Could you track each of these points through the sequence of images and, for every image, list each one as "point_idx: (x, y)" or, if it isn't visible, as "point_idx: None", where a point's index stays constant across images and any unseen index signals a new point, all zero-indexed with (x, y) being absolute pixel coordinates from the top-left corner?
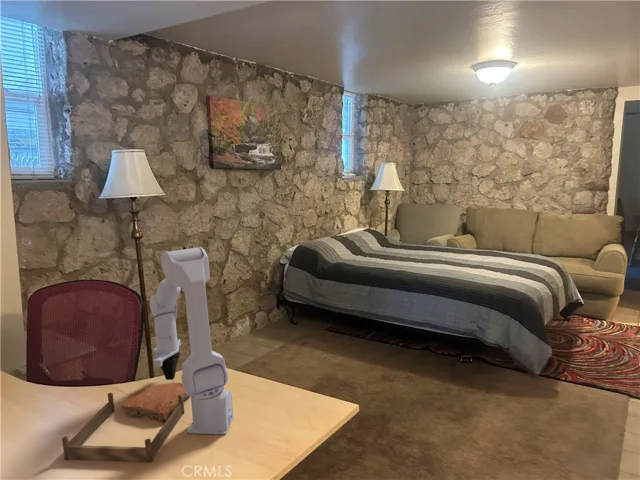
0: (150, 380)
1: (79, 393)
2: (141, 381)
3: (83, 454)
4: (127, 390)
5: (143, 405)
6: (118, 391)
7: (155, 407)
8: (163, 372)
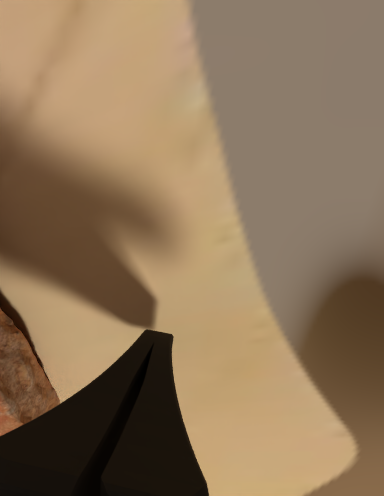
0: (210, 209)
1: None
2: (203, 147)
3: None
4: (76, 83)
5: None
6: (57, 6)
7: None
8: (118, 359)
